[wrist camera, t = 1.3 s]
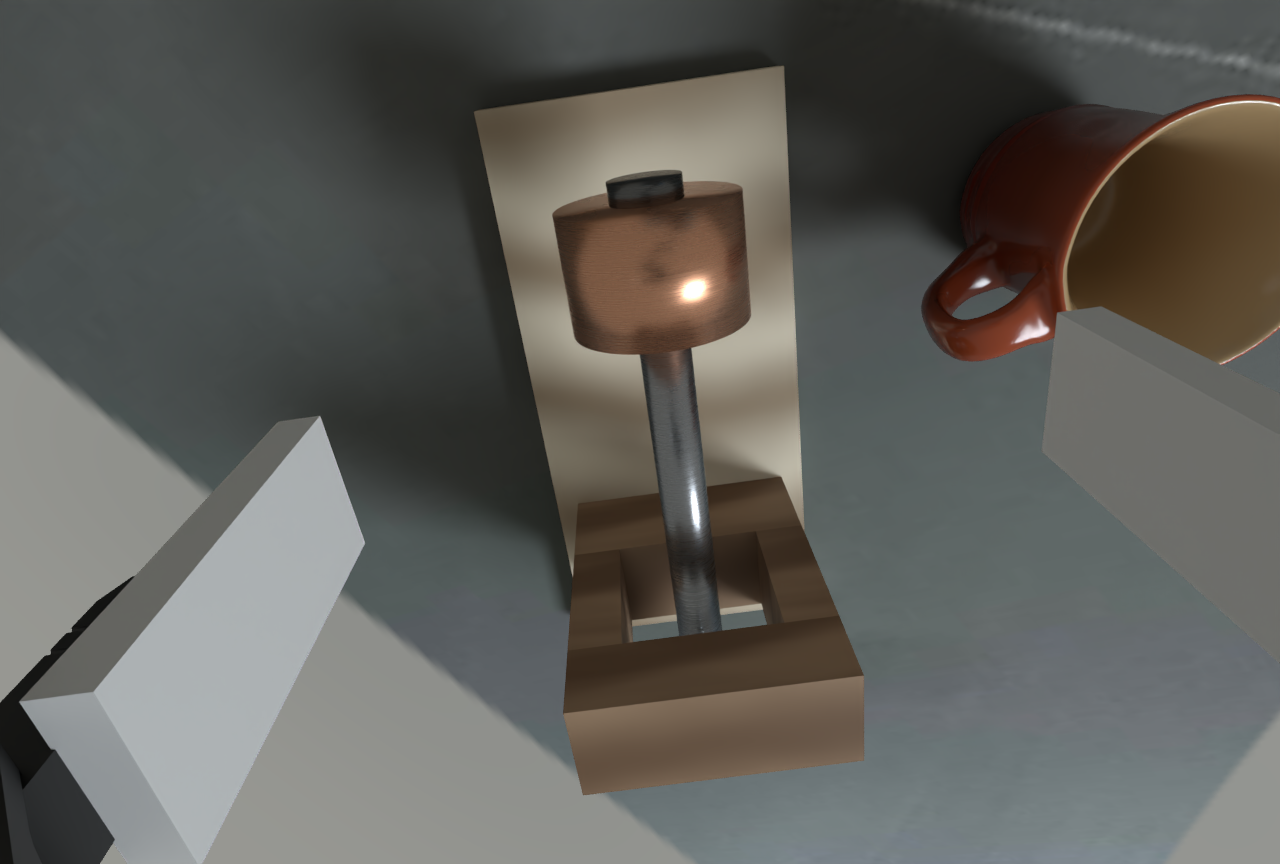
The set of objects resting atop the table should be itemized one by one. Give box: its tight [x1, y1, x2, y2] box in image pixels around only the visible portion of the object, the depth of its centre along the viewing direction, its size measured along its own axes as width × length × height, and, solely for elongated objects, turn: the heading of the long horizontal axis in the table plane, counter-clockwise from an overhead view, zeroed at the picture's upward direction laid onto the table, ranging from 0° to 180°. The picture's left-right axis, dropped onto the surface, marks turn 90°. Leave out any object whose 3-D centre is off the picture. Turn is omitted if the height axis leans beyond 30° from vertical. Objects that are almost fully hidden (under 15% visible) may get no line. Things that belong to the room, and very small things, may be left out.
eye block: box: [563, 477, 864, 795], centre depth 32 cm, size 4×10×13 cm, turn 98°
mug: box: [921, 94, 1280, 365], centre depth 28 cm, size 12×9×10 cm
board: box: [474, 66, 804, 626], centre depth 35 cm, size 26×12×1 cm, turn 8°
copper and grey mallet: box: [552, 170, 751, 636], centre depth 29 cm, size 24×6×6 cm, turn 8°
